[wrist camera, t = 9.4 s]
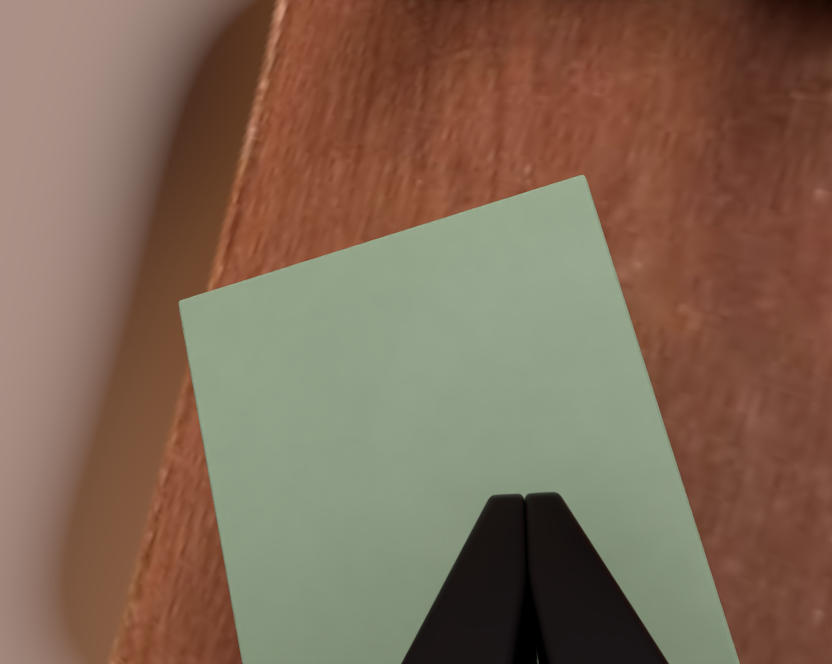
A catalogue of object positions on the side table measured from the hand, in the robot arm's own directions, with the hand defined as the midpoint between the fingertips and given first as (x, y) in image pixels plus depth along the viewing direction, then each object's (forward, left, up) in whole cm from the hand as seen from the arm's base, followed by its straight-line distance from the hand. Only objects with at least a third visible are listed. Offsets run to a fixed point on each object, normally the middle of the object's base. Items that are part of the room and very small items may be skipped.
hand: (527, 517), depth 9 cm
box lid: (0, +2, -5) cm, 6 cm away
